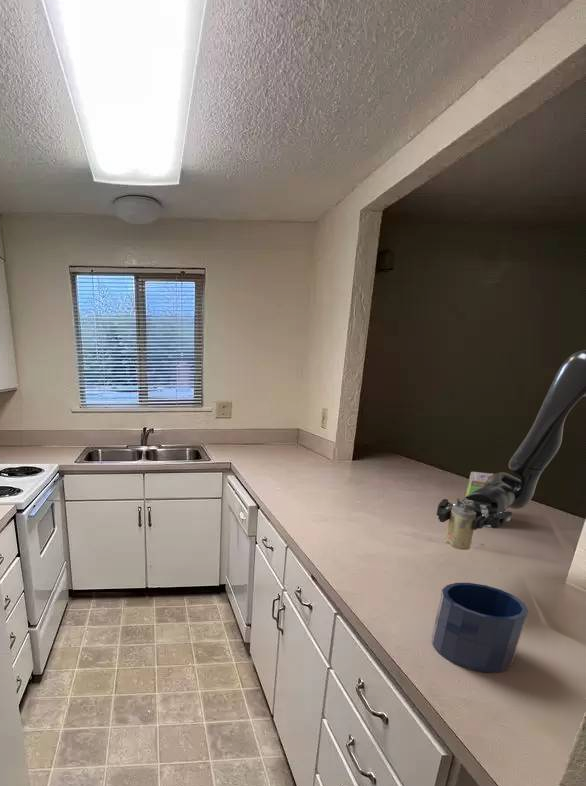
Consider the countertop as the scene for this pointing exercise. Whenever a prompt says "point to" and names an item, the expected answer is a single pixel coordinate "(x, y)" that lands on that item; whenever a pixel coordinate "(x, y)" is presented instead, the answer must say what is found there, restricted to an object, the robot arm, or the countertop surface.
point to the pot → (478, 627)
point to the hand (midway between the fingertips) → (457, 521)
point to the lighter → (461, 524)
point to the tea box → (477, 482)
